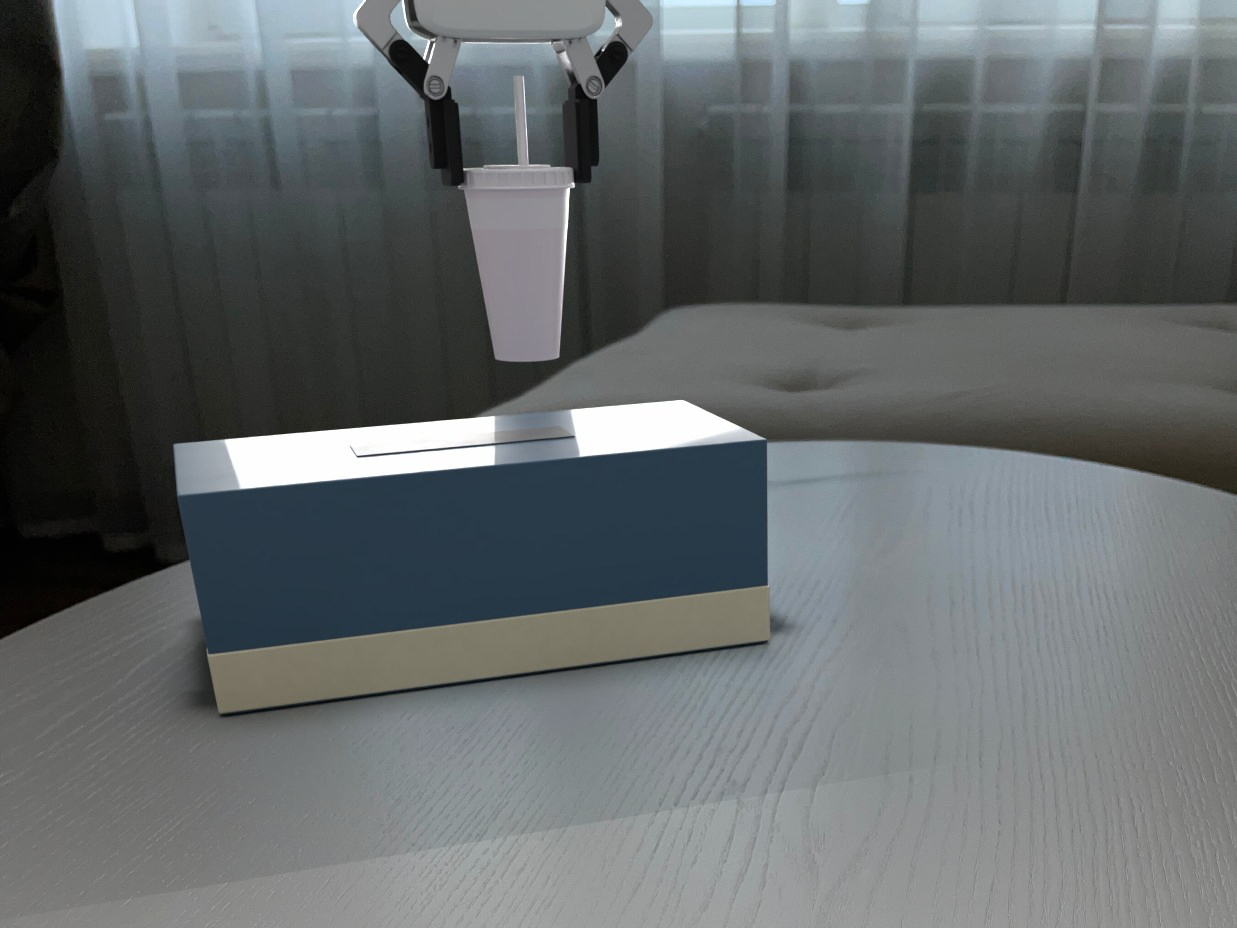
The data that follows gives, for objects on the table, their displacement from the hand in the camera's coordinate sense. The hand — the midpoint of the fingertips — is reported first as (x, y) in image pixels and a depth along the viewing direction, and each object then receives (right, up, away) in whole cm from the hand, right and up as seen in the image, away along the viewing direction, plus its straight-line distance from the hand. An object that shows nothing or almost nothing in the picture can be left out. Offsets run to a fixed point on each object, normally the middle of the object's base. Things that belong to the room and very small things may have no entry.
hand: (516, 180), depth 79 cm
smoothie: (0, -8, +4) cm, 9 cm away
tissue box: (0, -28, -15) cm, 32 cm away
